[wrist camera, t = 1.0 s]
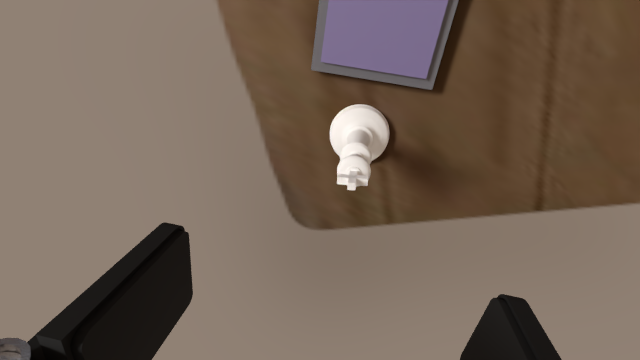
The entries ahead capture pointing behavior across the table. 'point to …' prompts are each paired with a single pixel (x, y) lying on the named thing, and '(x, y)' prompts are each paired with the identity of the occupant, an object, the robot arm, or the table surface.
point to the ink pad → (383, 39)
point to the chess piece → (358, 142)
